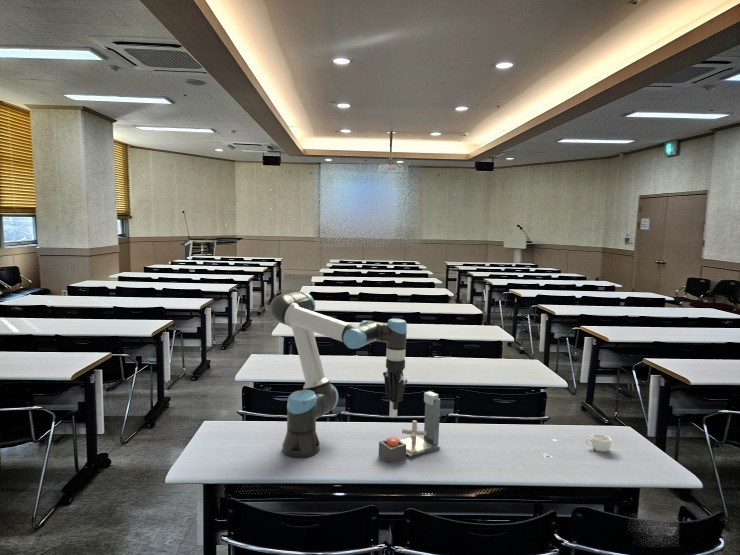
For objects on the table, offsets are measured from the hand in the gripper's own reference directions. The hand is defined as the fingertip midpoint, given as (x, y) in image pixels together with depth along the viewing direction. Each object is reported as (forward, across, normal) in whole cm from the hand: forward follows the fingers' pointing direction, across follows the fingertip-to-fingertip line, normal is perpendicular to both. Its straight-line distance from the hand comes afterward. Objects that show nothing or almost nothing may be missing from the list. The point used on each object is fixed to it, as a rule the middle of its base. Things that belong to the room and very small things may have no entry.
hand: (393, 416), depth 193 cm
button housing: (+17, 0, 0) cm, 17 cm away
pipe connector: (+16, +2, -13) cm, 20 cm away
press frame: (+17, +2, -15) cm, 23 cm away
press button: (+13, 0, 0) cm, 13 cm away
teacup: (+17, -40, -80) cm, 91 cm away
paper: (+17, -31, -60) cm, 70 cm away
